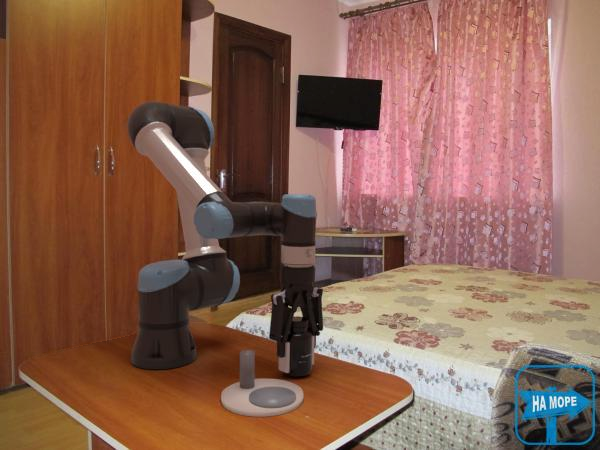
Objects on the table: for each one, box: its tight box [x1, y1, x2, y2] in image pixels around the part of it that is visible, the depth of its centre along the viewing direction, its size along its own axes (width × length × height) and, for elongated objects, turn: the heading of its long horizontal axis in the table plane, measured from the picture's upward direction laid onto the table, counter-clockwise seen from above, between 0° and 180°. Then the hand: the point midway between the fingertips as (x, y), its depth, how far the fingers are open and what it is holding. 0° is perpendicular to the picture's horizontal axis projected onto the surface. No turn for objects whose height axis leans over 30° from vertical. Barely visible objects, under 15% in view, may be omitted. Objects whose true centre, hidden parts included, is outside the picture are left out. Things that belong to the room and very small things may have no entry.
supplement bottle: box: [281, 315, 313, 377], centre depth 110 cm, size 7×7×12 cm
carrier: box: [220, 349, 304, 418], centre depth 97 cm, size 16×16×8 cm
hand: (296, 366), depth 110 cm, fingers closed on supplement bottle, 7 cm apart
